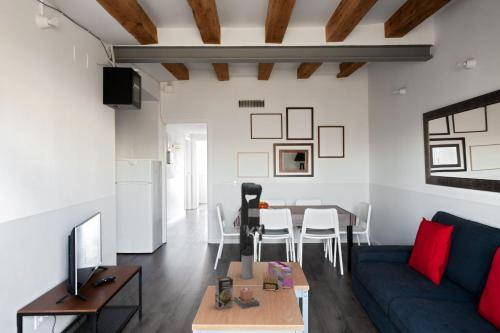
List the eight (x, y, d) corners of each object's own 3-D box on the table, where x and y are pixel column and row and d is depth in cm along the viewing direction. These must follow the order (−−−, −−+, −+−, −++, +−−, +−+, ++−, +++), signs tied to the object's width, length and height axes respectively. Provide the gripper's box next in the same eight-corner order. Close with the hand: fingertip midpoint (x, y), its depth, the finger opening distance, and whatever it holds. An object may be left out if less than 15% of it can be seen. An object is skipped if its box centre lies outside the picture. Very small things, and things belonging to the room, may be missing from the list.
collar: (239, 298, 184) (239, 288, 185) (248, 297, 187) (248, 287, 187) (243, 302, 179) (243, 291, 179) (252, 300, 181) (252, 290, 182)
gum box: (267, 279, 228) (266, 261, 228) (276, 278, 231) (275, 260, 232) (283, 289, 206) (283, 269, 207) (293, 287, 209) (293, 267, 210)
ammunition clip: (278, 290, 204) (278, 272, 205) (278, 291, 202) (278, 273, 203) (263, 288, 207) (263, 271, 208) (262, 289, 205) (262, 272, 206)
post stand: (233, 300, 187) (233, 285, 187) (249, 297, 191) (249, 283, 192) (242, 308, 174) (242, 292, 175) (259, 305, 179) (259, 290, 179)
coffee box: (218, 309, 173) (218, 281, 174) (214, 305, 178) (214, 278, 179) (233, 306, 177) (233, 278, 178) (228, 303, 183) (228, 275, 184)
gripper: (261, 214, 198) (261, 239, 197) (241, 215, 192) (241, 241, 191) (266, 215, 191) (266, 241, 190) (246, 216, 185) (246, 243, 184)
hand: (254, 241), depth 190 cm, fingers open, 8 cm apart
